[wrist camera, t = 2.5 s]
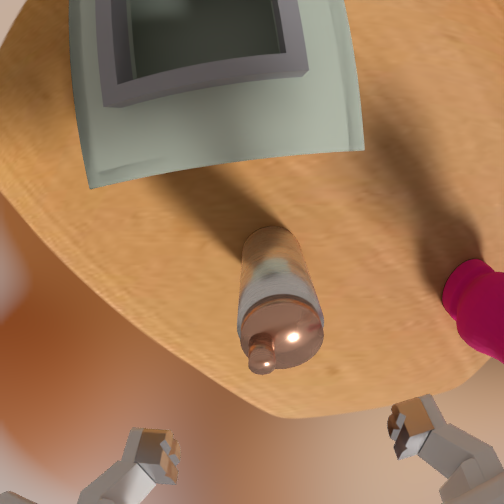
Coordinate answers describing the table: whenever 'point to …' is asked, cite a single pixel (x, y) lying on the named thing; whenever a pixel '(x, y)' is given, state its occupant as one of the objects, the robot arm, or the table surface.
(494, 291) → the pepper mill
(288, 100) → the green square holder
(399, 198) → the table surface
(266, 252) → the canister
